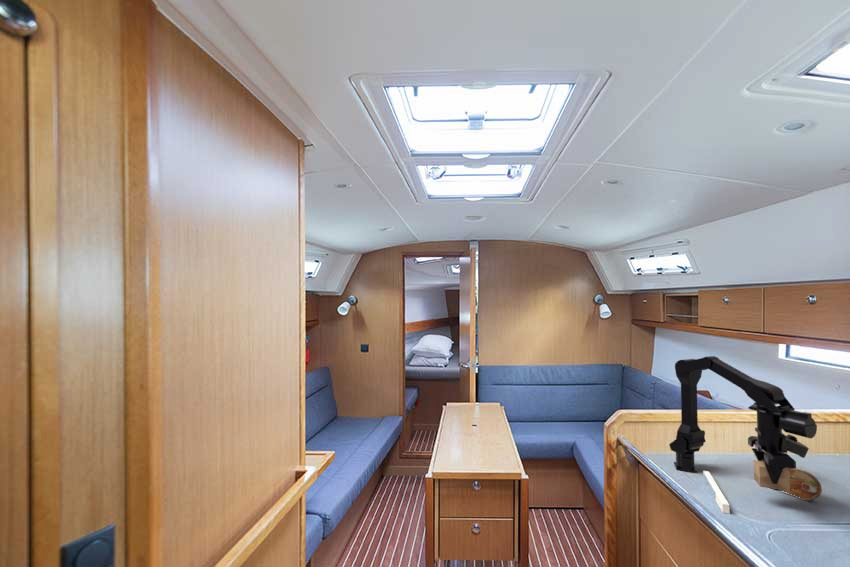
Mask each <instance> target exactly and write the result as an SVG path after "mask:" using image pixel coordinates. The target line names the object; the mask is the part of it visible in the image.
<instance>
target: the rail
mask: <svg viewBox="0 0 850 567" xmlns="http://www.w3.org/2000/svg"><path fill="white" fill-rule="evenodd" d="M702 474H703V475H702V476H703V477H702V478H703V480H704V482H705V484H706V485H707V487H708V489H709V491H710V492H711V495H712V496H713V498H714V499H715V501H716V503H717V505H718V506H719V508H720V510H721V512H722V513H723V514H730V512H731V511H730V504H729V501H728V500H727V498H726V497H725V496H724V494H723V493H722V491H721V489H720V488H719V486H718V484H717V482H716V481H715V479H714V478H713V476H712V474H711V473H710V471H707V470H703V471H702Z"/></svg>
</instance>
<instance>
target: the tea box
mask: <svg viewBox="0 0 850 567" xmlns="http://www.w3.org/2000/svg"><path fill="white" fill-rule="evenodd" d="M753 477H754V478H753V480H754V481H755V482H756V484H757V485H758V486H759V487H760V488H767V489H773V490H775V489H779V490H786V491H790V479H789V470H788V469H787V468H784V469H783V470H782V473H781V475H780V478H779V481H778V483H777V484H773V483H772V481H771V479H770V477H769V475H768V472H767V470H766V468H765V465H764V463H763V461H756V460H753Z"/></svg>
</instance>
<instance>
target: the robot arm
mask: <svg viewBox="0 0 850 567" xmlns="http://www.w3.org/2000/svg"><path fill="white" fill-rule="evenodd" d="M674 370H675V376H676V378H677V380H678V381H679V384H680V408H681V409H680V414H681V418H680V419H681V421H680V422H681V423H680V425H679V426H678V429H677V432H676V436H675V440H673V441H672V442H670V443H668V444H669V448H670V450H671V451H672V452H674V453H675V461H673V464H674V465H673V466H674V467H675V469H676V470H678V471H683V472H690V473H698V469H697V467H696V465H695V452H700V450H701V448H702V447H703V446H704V444H705V443H706V438H705V435H706V431H705V430H701V428H700V426H699V423H698V422H699V421H698V420H699V419H698V417H699V416H698V383H699V382H700V379H701V378H702V376H703V371H707V370H710V371H712V372H713V373H715V374H716V375H718V376H720V377H722V378H723V379H725V380H726V381H728V382H730V383H731V384H733V385H735V386H737V387H738V388H739V389H741V390H742V391H744V393H745V394H746V395H747V397H749V398H750V399H751V400H752V401H753V404H752V405H750V406H748V408H747V409H749V410H751V411H755V412H756V426H757V427H754V431H755V432H756V434H757V436H754V435H750V436H749V437H747V445H748V446H750V447H751V451H752V453H753V455H754V454H755V456H756V458H757V460H758V461H763V463H764V465H765V468H766V470H767V472H768V475H769V477H770V479H771V481H772V483H773V484H777V483H778V481H779V478H780V475H781V473H782V470H783V469H784V468H793V469H795V468H796V469H797V461H796V460H795V459H794V458H793V457H792V456H790V455H789V454H788V452H789V453H792V454H794V455H797V456H799V457H800V458H802V459H805V458H806V455H807V453H808V451H809V450H810V449H809V448H810V447H808V446H806V445H805V444H804V443H802V442H800V441H798V438H797V437H796V436H799V437H803V438H806V439H813V438H815V436H816V434H817V431H818V425H817V424H816V421H815V419H814V418H813V417H812V413H811V412H806V411H805V412H804V411H803V412H801V411H798V410H795V408H794V406H793V405H792V404H791V402H790V401H789V400H788V399H787V398H786V396H785V394H784V390H783V389H782V388H780V387H779V386H777V385H774V384H772V383H769V382H767V381H763V380H759V379H756V378H753V377H752V376H750V375H748V374H746V373H744V372H742V371H741V370H739V369H737V368H736V367H734V366H732V365H730V364H728V363H726V362H725V361H723V360H721V359H720V358H718V357H717V356H715V355H711V356H703V357H701V358H687V359H679V360H678V361H677V362H675V364H674ZM783 432H785V433H788V434H787V435H785V434H784V433H783ZM794 435H796V436H794ZM754 445H755V448H754ZM780 452H784V453H780ZM786 453H787V454H786Z"/></svg>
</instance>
